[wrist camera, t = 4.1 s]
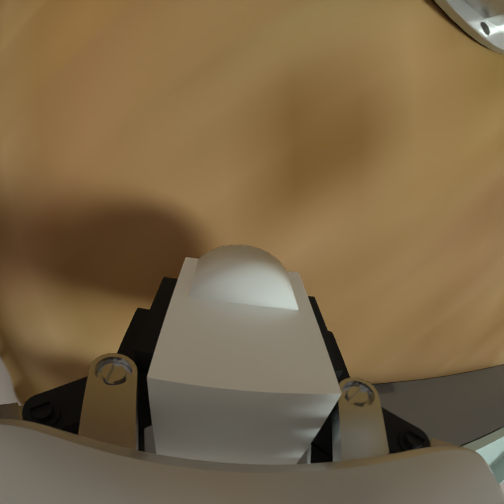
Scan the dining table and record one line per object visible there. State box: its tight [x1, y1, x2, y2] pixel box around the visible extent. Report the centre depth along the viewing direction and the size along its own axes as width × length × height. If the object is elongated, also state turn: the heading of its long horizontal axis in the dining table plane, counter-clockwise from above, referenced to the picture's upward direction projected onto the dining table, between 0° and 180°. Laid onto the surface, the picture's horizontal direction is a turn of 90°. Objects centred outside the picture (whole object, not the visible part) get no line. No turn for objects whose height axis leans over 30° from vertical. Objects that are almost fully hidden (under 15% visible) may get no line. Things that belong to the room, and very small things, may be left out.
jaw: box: [147, 245, 342, 465], centre depth 9 cm, size 5×4×6 cm
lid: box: [462, 427, 504, 485], centre depth 14 cm, size 16×16×3 cm
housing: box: [145, 365, 504, 464], centre depth 17 cm, size 16×34×9 cm, turn 80°
